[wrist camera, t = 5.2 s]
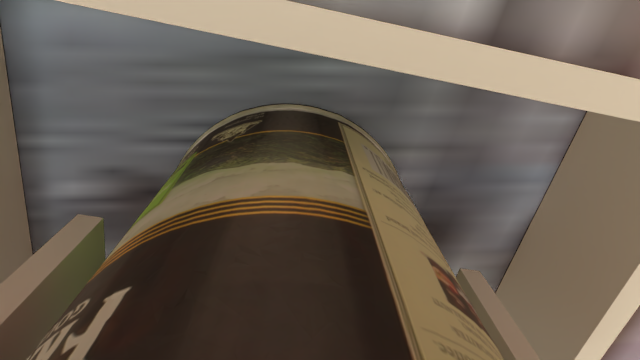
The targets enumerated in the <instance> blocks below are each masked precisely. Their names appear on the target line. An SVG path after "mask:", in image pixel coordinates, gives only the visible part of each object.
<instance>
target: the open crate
mask: <svg viewBox="0 0 640 360" xmlns="http://www.w3.org/2000/svg"><path fill="white" fill-rule="evenodd" d="M56 1H61V2H66V3H70V4H75V5H80V6H85V7H90V8H94V9H99V10H104V11H109V12H114V13H118V14H123V15H128V16H133V17H138V18H143V19H147V20H152V21H157V22H162V23H167V24H171V25H176V26H181V27H186V28H191V29H195V30H200V31H205V32H210V33H215V34H220V35H224V36H229V37H234V38H239V39H244V40H248V41H253V42H258V43H263V44H268V45H273V46H277V47H282V48H287V49H292V50H297V51H301V52H306V53H311V54H316V55H321V56H325V57H330V58H335V59H340V60H345V61H350V62H354V63H359V64H364V65H369V66H374V67H378V68H383V69H388V70H393V71H398V72H402V73H407V74H412V75H417V76H422V77H427V78H431V79H436V80H441V81H446V82H451V83H455V84H460V85H465V86H470V87H475V88H479V89H484V90H489V91H494V92H499V93H504V94H508V95H513V96H518V97H523V98H528V99H532V100H537V101H542V102H547V103H552V104H556V105H561V106H566V107H571V108H576V109H581V110H585V111H587V113H586V115H585V117H584V119H583V121H582V123H581V125H580V127H579V129H578V131H577V133H576V135H575V137H574V139H573V141H572V143H571V145H570V147H569V149H568V151H567V153H566V155H565V157H564V158H563V160H562V162H561V164H560V166H559V168H558V170H557V172H556V174H555V176H554V178H553V180H552V182H551V184H550V186H549V188H548V190H547V192H546V194H545V196H544V198H543V200H542V202H541V204H540V206H539V208H538V210H537V212H536V214H535V216H534V218H533V220H532V222H531V224H530V226H529V228H528V230H527V232H526V234H525V236H524V238H523V240H522V242H521V244H520V246H519V248H518V250H517V252H516V254H515V256H514V257H513V259H512V261H511V263H510V265H509V267H508V269H507V271H506V273H505V275H504V277H503V279H502V281H501V283H500V285H499V287H498V289H497V291H496V293H495V294H496V296H497V297H498V299H499V300H500V301H501V303H502V304H503V306H504V307H505V309H506V310H507V312H508V313H509V315H510V316H511V318H512V319H513V320H514V322H515V323H516V325H517V326H518V328H519V329H520V331H521V332H522V334H523V335H524V336H525V338H526V339H527V341H528V342H529V344H530V345H531V347H532V348H533V350H534V351H535V352H536V354H537V355H538V357H539V358H540V360H600V359H601V358H602V357H603V355H604V354H605V352H606V351H607V350H608V348H609V347H610V345H611V344H612V343H613V341H614V340H615V338H616V337H617V336H618V334H619V333H620V332H621V330H622V329H623V327H624V326H625V325H626V323H627V322H628V320H629V319H630V318H631V316H632V315H633V314H634V312H635V311H636V309H637V308H638V307H639V305H640V79H635V78H631V77H627V76H622V75H618V74H613V73H609V72H604V71H600V70H595V69H591V68H586V67H582V66H577V65H573V64H569V63H564V62H560V61H555V60H551V59H546V58H542V57H537V56H533V55H528V54H524V53H519V52H515V51H510V50H506V49H502V48H497V47H493V46H488V45H484V44H479V43H475V42H470V41H466V40H461V39H457V38H452V37H448V36H444V35H439V34H435V33H430V32H426V31H421V30H417V29H412V28H408V27H403V26H399V25H394V24H390V23H386V22H381V21H377V20H372V19H368V18H363V17H359V16H354V15H350V14H345V13H341V12H336V11H332V10H327V9H323V8H319V7H314V6H310V5H305V4H301V3H296V2H292V1H287V0H56ZM32 255H33V254H32V247H31V240H30V233H29V226H28V219H27V211H26V204H25V197H24V190H23V183H22V176H21V169H20V162H19V155H18V148H17V141H16V134H15V127H14V120H13V113H12V106H11V99H10V92H9V85H8V78H7V71H6V64H5V57H4V50H3V43H2V36H1V29H0V284H1V283H2V282H4V281H5V280H6V279H7V278H8V277H9V276H10V275H11V274H12V273H14V272H15V271H16V270H17V269H18V268H19V267H20V266H21V265H22V264H23V263H25V262H26V261H27V260H28V259H29V258H30V257H31V256H32Z"/></svg>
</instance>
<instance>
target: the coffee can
mask: <svg viewBox="0 0 640 360" xmlns="http://www.w3.org/2000/svg"><path fill="white" fill-rule="evenodd" d="M26 360H504V359H503V357H502V355H501V354H500V352H499V350H498V348H497V346H496V344H495V343H494V341H493V340H492V338H491V337H490V335H489V334H488V332H487V331H486V329H485V327H484V326H483V324H482V322H481V321H480V319H479V317H478V315H477V313H476V311H475V309H474V307H473V305H472V304H471V302H470V301H469V299H468V298H467V296H466V295H465V293H464V291H463V290H462V288H461V286H460V284H459V283H458V281H457V279H456V277H455V276H454V274H453V272H452V270H451V269H450V267H449V265H448V263H447V262H446V260H445V258H444V256H443V255H442V253H441V251H440V250H439V248H438V246H437V244H436V243H435V241H434V239H433V238H432V236H431V234H430V232H429V231H428V229H427V227H426V225H425V223H424V221H423V220H422V218H421V216H420V214H419V212H418V211H417V209H416V207H415V205H414V204H413V202H412V200H411V199H410V197H409V195H408V193H407V192H406V190H405V189H404V187H403V185H402V183H401V181H400V179H399V177H398V174H397V171H396V169H395V167H394V166H393V164H392V162H391V160H390V159H389V157H388V155H387V154H386V152H385V151H384V150H383V149H382V148H381V146H380V145H379V144H378V143H377V142H376V141H375V140H374V139H373V138H372V137H371V136H370V135H369V134H368V133H366V132H365V131H364V130H363V129H361V128H360V127H358V126H357V125H355V124H354V123H352V122H351V121H349V120H347V119H345V118H344V117H342V116H340V115H337V114H335V113H332V112H328V111H325V110H322V109H319V108H315V107H310V106H303V105H293V104H281V105H268V106H262V107H257V108H253V109H249V110H245V111H241V112H239V113H236V114H234V115H232V116H229V117H228V118H226V119H224V120H222V121H220V122H219V123H217V124H216V125H214V126H213V127H211V128H210V129H209V130H207V131H206V132H205V133H204V134H203V135H201V136H200V137H199V138H198V139H197V140H196V142H195V143H194V144H193V145H192V146H191V147H190V148H189V150H188V151H187V153H186V154H185V156H184V157H183V158H182V160H181V162H180V164H179V166H178V167H177V169H176V170H175V172H174V173H173V174H172V175H171V177H170V178H169V179H168V181H167V182H166V183H165V184H164V186H163V187H162V188H161V189H160V191H159V192H158V193H157V195H156V196H155V197H154V199H153V200H152V201H151V203H150V204H149V205H148V206H147V208H146V209H145V210H144V211H143V213H142V214H141V215H140V216H139V217H138V219H137V220H136V221H135V223H134V224H133V225H132V227H131V228H130V229H129V231H128V232H127V233H126V234H125V236H124V237H123V238H122V239H121V241H120V242H119V243H118V245H117V246H116V247H115V248H114V250H113V251H112V252H111V254H110V255H109V256H108V257H107V259H106V260H105V261H104V263H103V264H102V265H101V266H100V268H99V269H98V270H97V271H96V273H95V274H94V275H93V276H92V278H91V279H90V280H89V282H88V283H87V284H86V285H85V287H84V288H83V289H82V290H81V292H80V293H79V294H78V295H77V297H76V298H75V299H74V300H73V302H72V303H71V304H70V305H69V307H68V308H67V309H66V311H65V312H64V313H63V314H62V316H61V317H60V318H59V319H58V321H57V322H56V323H55V324H54V325H53V327H52V328H51V329H50V330H49V331H48V333H47V334H46V335H45V336H44V338H43V339H42V341H41V342H40V344H39V345H38V346H37V348H36V349H35V351H34V352H33V353H32V354H31V355H30V356H29V357H28V358H27V359H26Z"/></svg>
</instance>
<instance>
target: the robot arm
mask: <svg viewBox="0 0 640 360" xmlns="http://www.w3.org/2000/svg"><path fill="white" fill-rule="evenodd" d="M104 261H105V243H104V221H103V218H101V217H94V216H87V215H80V214H78V215H77V216H75V217H74V218H73V219H72V220H71V221H70V222H69V223H68V224H67V225H65V226H64V227H63V228H62V229H61V230H60V231H59V232H58V233H57V234H56V235H54V236H53V237H52V238H51V239H50V240H49V241H48V242H47V243H46V244H44V245H43V246H42V247H41V248H40V249H39V250H38V251H37V252H36V253H35V254H33V255H32V256H31V257H30V258H29V259H28V260H27V261H26V262H25V263H23V264H22V265H21V266H20V267H19V268H18V269H17V270H16V271H15V272H14V273H12V274H11V275H10V276H9V277H8V278H7V279H6V280H5V281H4V282H2V283H1V284H0V360H26V359H27V358H28V357H29V356H30V355H31V354H32V353H33V352H34V351H35V349H36V348H37V346H38V345H39V344H40V342H41V341H42V339H43V338H44V336H45V335H46V334H47V333H48V331H49V330H50V329H51V328H52V327H53V325H54V324H55V323H56V322H57V321H58V319H59V318H60V317H61V316H62V314H63V313H64V312H65V311H66V309H67V308H68V307H69V305H70V304H71V303H72V302H73V300H74V299H75V298H76V297H77V295H78V294H79V293H80V292H81V290H82V289H83V288H84V287H85V285H86V284H87V283H88V282H89V280H90V279H91V278H92V276H93V275H94V274H95V273H96V271H97V270H98V269H99V268H100V266H101V265H102V264H103V263H104ZM456 279H457V281H458V283H459V284H460V286H461V288H462V290H463V291H464V293H465V295H466V296H467V298H468V299H469V301H470V302H471V304H472V305H473V307H474V309H475V311H476V313H477V315H478V317H479V319H480V321H481V322H482V324H483V326H484V327H485V329H486V331H487V332H488V334H489V335H490V337H491V338H492V340H493V341H494V343H495V344H496V346H497V348H498V350H499V352H500V354H501V355H502V357H503V359H504V360H540V358H539V357H538V355H537V354H536V352H535V351H534V350H533V348H532V347H531V345H530V344H529V342H528V341H527V339H526V338H525V336H524V335H523V334H522V332H521V331H520V329H519V328H518V326H517V325H516V323H515V322H514V320H513V319H512V318H511V316H510V315H509V313H508V312H507V310H506V309H505V307H504V306H503V304H502V303H501V301H500V300H499V299H498V297H497V296H496V294H495V293H494V291H493V290H492V288H491V287H490V285H489V284H488V283H487V281H486V280H485V278H484V277H483V275H482V274H481V272H480V271H475V270H468V269H461V268H460V270H459V272H458V274H457V276H456Z"/></svg>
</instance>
